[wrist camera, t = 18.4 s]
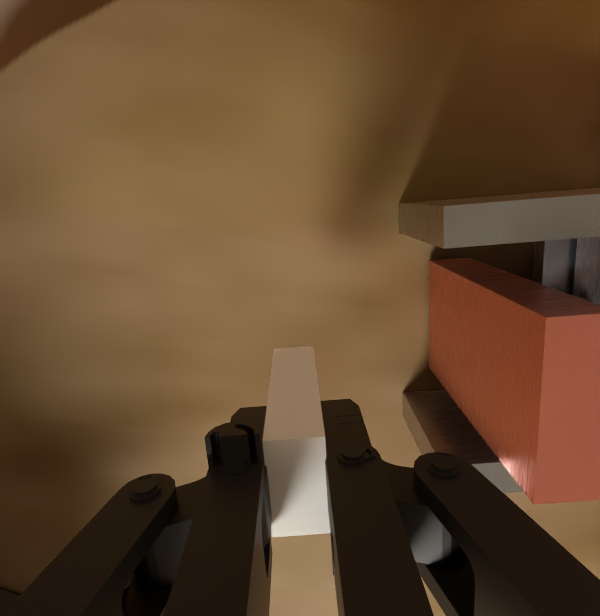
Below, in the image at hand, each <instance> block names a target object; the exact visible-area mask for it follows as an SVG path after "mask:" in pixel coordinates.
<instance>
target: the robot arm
mask: <svg viewBox="0 0 600 616" xmlns="http://www.w3.org/2000/svg"><path fill="white" fill-rule="evenodd" d="M205 444H206V451H207V458H208V465H209V469H208V472H207V475H206V477H204V478H202V479H200V480H198V481H195V482H192V483H189V484H185V485H182V486H178V487H175V481H174V479H172V478H171V477H170V476H169V475H165V474H148V475H145V476H141V477H138V478H136V479H134V480H132V481H130V482H128V483H127V484H126V485H125V486H123V487H122V488H121V489H120V490H119V491H118V492H117V493H116V494H115V495H114V496H113V497H112V498H111V499H110V500H109V501H108V502H107V504H106V505H105V506H104V507H103V508H102V509H101V510H100V511H99V512H98V513H97V514H96V515H95V516H94V517H93V518H92V519H91V521H90V522H89V523H88V524H87V525H86V526H85V527H84V528H83V529H82V530H81V531H80V532H79V533H78V534H77V535H76V536H75V538H74V539H73V540H72V541H71V542H70V543H69V544H68V545H67V546H66V547H65V548H64V549H63V550H62V551H61V552H60V553H59V554H58V556H57V557H56V558H55V559H54V560H53V561H52V562H51V563H50V564H49V565H48V566H47V567H46V568H45V569H44V570H43V571H42V573H41V574H40V575H39V576H38V577H37V578H36V579H35V580H34V581H33V582H32V583H31V584H30V585H29V586H28V587H27V588H26V590H25V591H24V592H23V593H22V594H21V595H17V594H14V593H12V592H8V591H5V590H1V589H0V616H269V604H270V586H271V567H272V546H271V537H270V536H271V530H272V537H283V536H297V535H311V534H325V533H331V548H332V564H333V575H334V577H335V586H336V596H337V605H338V615H339V616H434V615H433V612H432V609H431V606H430V603H429V600H428V597H427V594H426V591H425V588H424V585H423V582H422V579H423V580H424V582H425V583H426V585H427V586H428V588H429V590H430V591H431V593H432V594H433V596H434V597H435V599H436V601H437V602H438V604H439V605H440V607H441V608H442V610H443V612H444V613H445V615H446V616H600V580H599V579H598V578H597V577H596V576H595V575H594V574H593V573H591V572H590V571H589V570H588V569H587V568H586V567H585V566H584V565H583V564H581V563H580V562H579V561H578V560H577V559H576V558H575V557H574V556H573V555H571V554H570V553H569V552H568V551H567V550H566V549H565V548H564V547H563V546H561V545H560V544H559V543H558V542H557V541H556V540H555V539H554V538H553V537H551V536H550V535H549V534H548V533H547V532H546V531H545V530H544V529H543V528H541V527H540V526H539V525H538V524H537V523H536V522H535V521H534V520H533V519H531V518H530V517H529V516H528V515H527V514H526V513H525V512H524V511H523V510H522V509H520V508H519V507H518V506H517V505H516V504H515V503H514V502H513V501H512V500H510V499H509V498H508V497H507V496H506V495H505V494H504V493H503V492H502V491H500V490H499V489H498V488H497V487H496V486H495V485H494V484H493V483H492V482H490V481H489V480H488V479H487V478H486V477H485V476H484V475H483V474H482V473H480V472H479V471H478V470H477V469H476V468H475V467H474V466H473V465H472V464H470V463H469V462H468V461H466V460H465V459H463V458H462V457H460V456H457V455H454V454H451V453H446V452H432V453H427V454H424V455H421V456H419V457H418V458H417V459H416V460H415V463H414V468H410V467H402V466H397V465H393V464H390V463H387V462H385V461H383V460H382V459H381V457H380V454H379V453H378V452H377V450H376V449H375V448H373V447H372V446H371V443H370V440H369V436H368V433H367V430H366V427H365V424H364V421H363V417H362V414H361V411H360V408H359V406H358V405H357V404H356V403H355V402H353V401H352V400H351V399H341V400H327V401H320V395H319V387H318V380H317V372H316V365H315V358H314V350H313V346H304V347H290V348H276V349H274V353H273V361H272V369H271V377H270V385H269V393H268V401H267V406H260V407H246V408H240V409H239V410H238V411H237V412H236V413H235V414H234V415H233V416H232V417H231V421H230V423H225V424H222V425H220V426H217V427H215V428H214V429H212V430H211V431H209V432H208V433H207V435H206V436H205ZM420 575H421V576H420ZM421 577H422V579H421Z"/></svg>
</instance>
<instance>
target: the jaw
mask: <svg viewBox="0 0 600 616" xmlns="http://www.w3.org/2000/svg"><path fill="white" fill-rule="evenodd" d="M429 369H430V370H431V371H432V372H433V374H434V375H435V376H436V378H437V379H438V380H439V382H440V383H441V384H442V386H443V387H444V388H445V389H446V391H447V392H448V393H449V395H450V396H451V397H452V399H453V400H454V401H455V403H456V404H457V405H458V406H459V408H460V409H461V410H462V412H463V413H464V414H465V416H466V417H467V418H468V419H469V421H470V422H471V423H472V425H473V426H474V427H475V429H476V430H477V431H478V433H479V434H480V435H481V436H482V438H483V439H484V440H485V442H486V443H487V444H488V446H489V447H490V448H491V449H492V451H493V452H494V453H495V455H496V456H497V457H498V459H499V460H500V461H501V463H502V464H503V465H504V466H505V468H506V469H507V470H508V472H509V473H510V474H511V476H512V477H513V478H514V480H515V481H516V482H517V483H518V485H519V486H520V487H521V489H522V490H523V491H524V493H525V494H526V495H527V496H528V498H529V499H530V500H531V502H532V503H533V504H548V503H563V502H577V501H592V500H599V495H600V236H599V237H586V238H577V248H576V260H575V273H574V285H573V295H571V294H568V293H565V292H562V291H560V290H557V289H554V288H551V287H548V286H546V285H543V284H540V283H537V282H535V281H532V280H529V279H526V278H523V277H521V276H518V275H515V274H512V273H509V272H507V271H504V270H501V269H498V268H496V267H493V266H490V265H487V264H484V263H482V262H479V261H476V260H473V259H470V258H468V257H465V258H452V259H439V260H429Z"/></svg>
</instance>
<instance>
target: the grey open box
mask: <svg viewBox="0 0 600 616" xmlns="http://www.w3.org/2000/svg"><path fill="white" fill-rule="evenodd" d="M399 233H401V234H404V235H407V236H410V237H412V238H415V239H418V240H421V241H424V242H426V243H429V244H432V245H435V246H438V247H440V248H443V249H445V248H458V247H470V246H483V245H496V244H509V243H522V242H534V253H533V271H532V281H535V282H537V283H540V284H543V285H546V286H548V287H551V288H554V289H557V290H560V291H562V292H565V293H568V294H571V295H573V285H574V273H575V260H576V248H577V238H586V237H599V236H600V187H596V188H584V189H571V190H559V191H546V192H533V193H521V194H508V195H496V196H483V197H470V198H458V199H445V200H433V201H420V202H408V203H399ZM403 417H404V419H405V421H406V423H407V425H408V427H409V429H410V431H411V433H412V435H413V438H414V440H415V442H416V444H417V446H418V448H419V450H420V452H421V454H422V455H424V454H427V453H432V452H446V453H451V454H454V455H457V456H460V457H462V458H463V459H465V460H466V461H468V462H469V463H470V464H472V465H473V466H474V467H475V468H476V469H477V470H478V471H479V472H480V473H482V474H483V475H484V476H485V477H486V478H487V479H488V480H489V481H490V482H492V483H493V484H494V485H495V486H496V487H497V488H498V489H499V490H500V491H502V492H503V493H512V492H524V491H523V490H522V489H521V487H520V486H519V485H518V483H517V482H516V481H515V480H514V478H513V477H512V476H511V474H510V473H509V472H508V470H507V469H506V468H505V466H504V465H503V464H502V463H501V461H500V460H499V459H498V457H497V456H496V455H495V453H494V452H493V451H492V449H491V448H490V447H489V446H488V444H487V443H486V442H485V440H484V439H483V438H482V436H481V435H480V434H479V433H478V431H477V430H476V429H475V427H474V426H473V425H472V423H471V422H470V421H469V419H468V418H467V417H466V416H465V414H464V413H463V412H462V410H461V409H460V408H459V406H458V405H457V404H456V403H455V401H454V400H453V399H452V397H451V396H450V395H449V393H448V392H447V391H446V389H440V390H426V391H413V392H403Z"/></svg>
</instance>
